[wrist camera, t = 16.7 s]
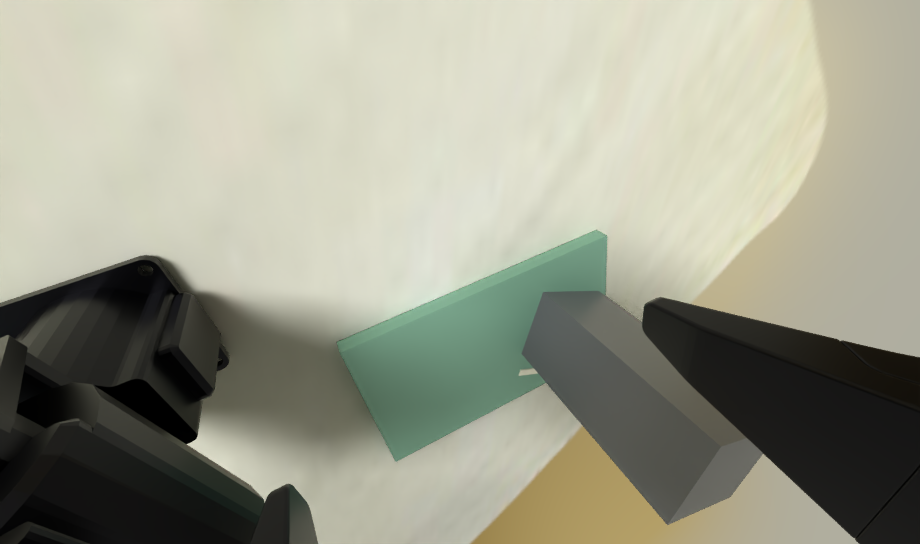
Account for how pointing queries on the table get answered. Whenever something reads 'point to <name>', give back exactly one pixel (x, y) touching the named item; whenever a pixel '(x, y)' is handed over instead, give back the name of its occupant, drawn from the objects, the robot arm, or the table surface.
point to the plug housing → (636, 404)
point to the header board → (463, 347)
